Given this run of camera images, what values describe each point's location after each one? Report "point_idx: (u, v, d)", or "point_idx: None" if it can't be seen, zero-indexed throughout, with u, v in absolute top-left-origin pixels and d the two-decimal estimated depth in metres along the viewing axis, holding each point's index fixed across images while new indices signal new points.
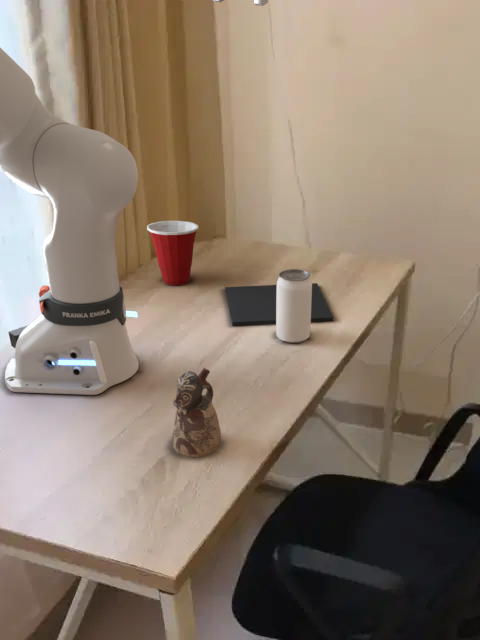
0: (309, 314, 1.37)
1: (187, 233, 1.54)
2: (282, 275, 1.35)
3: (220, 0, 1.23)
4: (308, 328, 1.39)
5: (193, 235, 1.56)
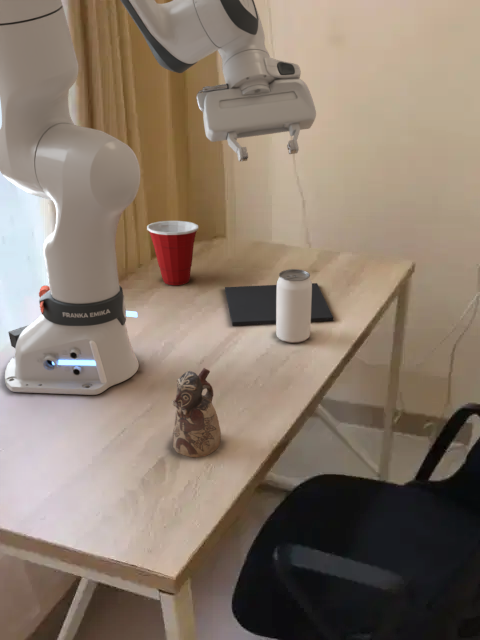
0: (309, 314, 1.37)
1: (187, 233, 1.54)
2: (282, 275, 1.35)
3: (247, 155, 1.32)
4: (308, 328, 1.39)
5: (193, 235, 1.56)
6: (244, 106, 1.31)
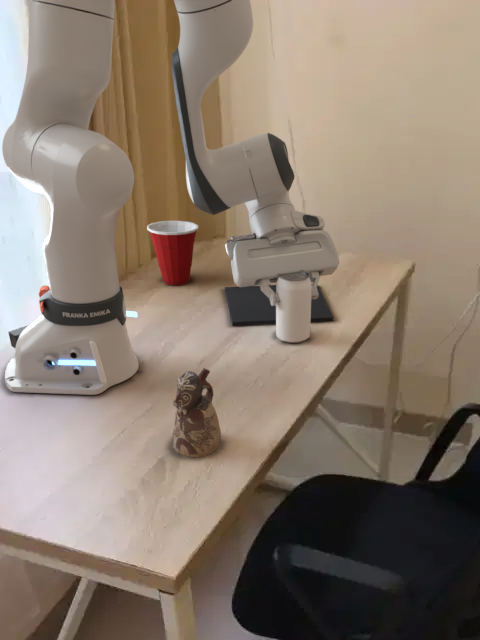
0: (309, 314, 1.37)
1: (187, 233, 1.54)
2: (282, 275, 1.35)
3: None
4: (308, 328, 1.39)
5: (193, 235, 1.56)
6: (272, 255, 1.35)
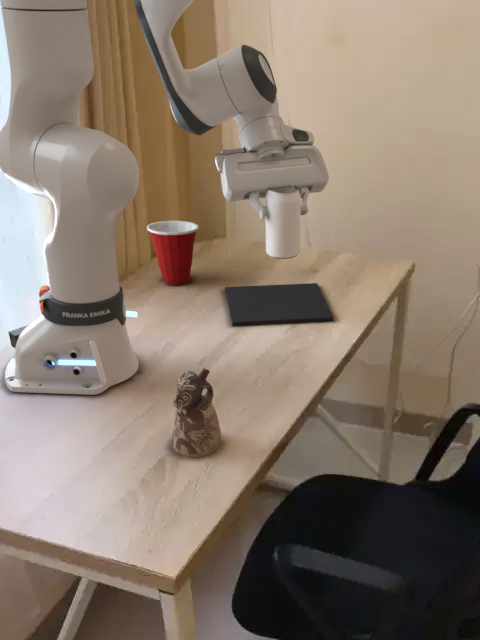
0: (298, 229, 1.38)
1: (187, 233, 1.54)
2: (271, 189, 1.36)
3: None
4: (297, 244, 1.40)
5: (193, 235, 1.56)
6: (261, 168, 1.36)
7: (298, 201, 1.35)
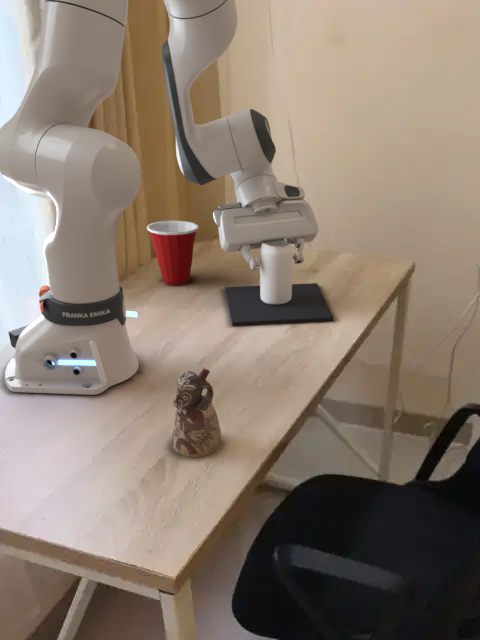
0: (290, 278, 1.49)
1: (187, 233, 1.54)
2: (265, 241, 1.47)
3: (259, 264, 1.47)
4: (289, 291, 1.51)
5: (193, 235, 1.56)
6: (256, 222, 1.47)
7: (290, 253, 1.46)
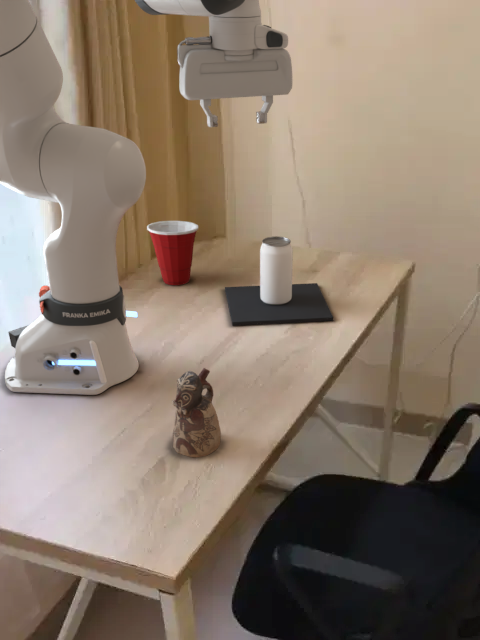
0: (290, 278, 1.49)
1: (187, 233, 1.54)
2: (265, 241, 1.47)
3: (217, 124, 1.34)
4: (289, 291, 1.51)
5: (193, 235, 1.56)
6: (224, 72, 1.28)
7: (290, 253, 1.46)
